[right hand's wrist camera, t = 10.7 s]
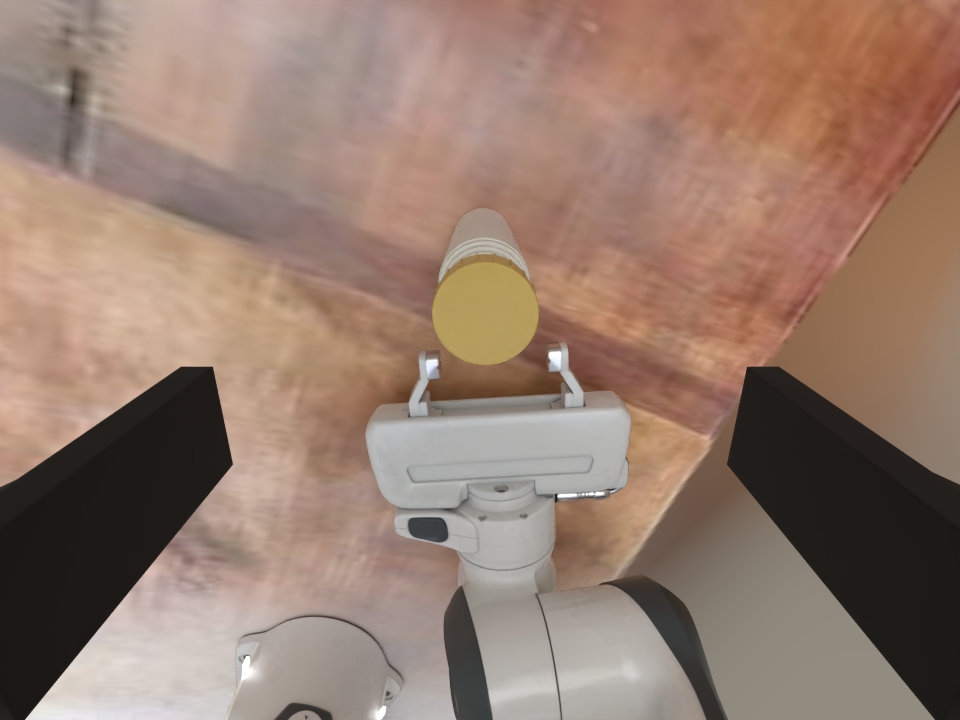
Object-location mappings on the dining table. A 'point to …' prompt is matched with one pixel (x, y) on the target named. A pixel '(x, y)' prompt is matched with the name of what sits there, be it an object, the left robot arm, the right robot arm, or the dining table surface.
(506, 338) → the cap
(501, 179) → the dining table surface
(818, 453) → the right robot arm
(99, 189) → the dining table surface
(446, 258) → the bottle
